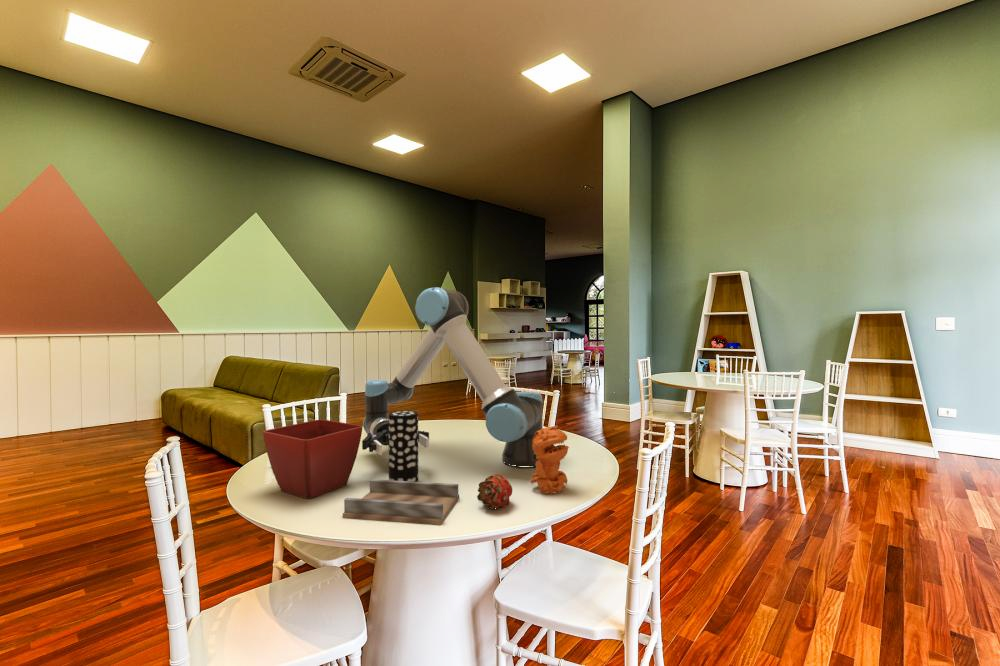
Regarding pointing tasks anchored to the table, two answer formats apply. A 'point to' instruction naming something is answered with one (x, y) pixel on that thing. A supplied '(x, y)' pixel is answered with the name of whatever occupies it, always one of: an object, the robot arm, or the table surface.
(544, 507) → the table surface
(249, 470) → the table surface
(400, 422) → the spotted tube
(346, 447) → the plant pot
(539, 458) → the toy dinosaur
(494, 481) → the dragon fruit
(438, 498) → the track
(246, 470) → the table surface
